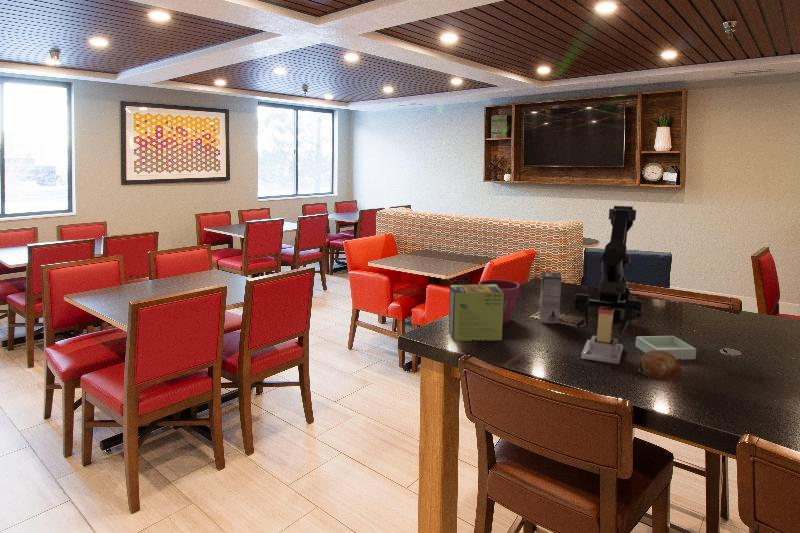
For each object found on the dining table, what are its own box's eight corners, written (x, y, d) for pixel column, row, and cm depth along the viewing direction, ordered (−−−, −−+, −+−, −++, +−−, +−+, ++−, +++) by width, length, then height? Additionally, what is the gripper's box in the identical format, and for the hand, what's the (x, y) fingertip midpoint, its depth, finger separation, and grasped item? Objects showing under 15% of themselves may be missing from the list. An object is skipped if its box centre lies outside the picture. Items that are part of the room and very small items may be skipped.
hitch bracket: (587, 344, 167) (587, 333, 166) (622, 349, 163) (623, 338, 162) (581, 358, 155) (582, 346, 155) (619, 364, 151) (620, 352, 150)
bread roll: (636, 379, 150) (626, 354, 149) (670, 363, 150) (661, 338, 149) (655, 394, 141) (645, 368, 139) (692, 377, 141) (682, 350, 139)
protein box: (502, 340, 170) (504, 291, 167) (453, 341, 169) (454, 292, 166) (494, 330, 180) (496, 283, 177) (448, 330, 179) (449, 284, 176)
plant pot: (523, 325, 186) (525, 288, 183) (482, 326, 184) (484, 288, 182) (511, 313, 200) (512, 278, 197) (473, 314, 198) (474, 279, 196)
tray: (635, 346, 166) (636, 336, 165) (672, 345, 166) (673, 335, 166) (655, 360, 154) (656, 349, 154) (695, 359, 155) (696, 349, 155)
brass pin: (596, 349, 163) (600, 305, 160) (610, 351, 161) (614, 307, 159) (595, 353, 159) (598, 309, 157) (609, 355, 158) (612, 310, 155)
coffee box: (538, 315, 197) (541, 271, 194) (557, 316, 196) (560, 272, 193) (540, 322, 188) (542, 276, 185) (559, 324, 187) (562, 277, 184)
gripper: (577, 267, 163) (568, 312, 156) (645, 273, 155) (640, 320, 148) (579, 287, 172) (571, 331, 164) (644, 294, 164) (639, 340, 156)
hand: (604, 330), depth 158 cm, fingers open, 9 cm apart
